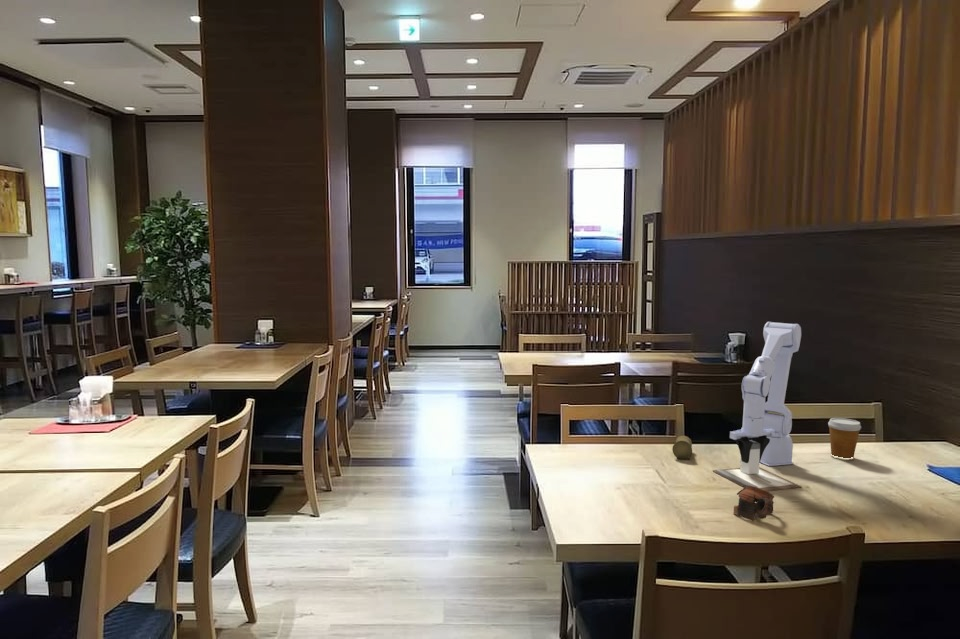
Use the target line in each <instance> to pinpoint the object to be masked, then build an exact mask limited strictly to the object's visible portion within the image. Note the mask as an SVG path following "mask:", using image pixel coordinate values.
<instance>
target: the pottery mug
mask: <svg viewBox="0 0 960 639" xmlns="http://www.w3.org/2000/svg"><path fill="white" fill-rule="evenodd" d="M736 495H737V496H738V497H739V498H738V502H737V503H738V505H734V506H733V515H735V516H740V517H741V518H743V519H746V520H749V521H752V522H754V521H755V517H756V516H757V517H758V518H759V519H762V520H764V519H766V518H767V516H768V515H770V514H773V512H774V503H775V502H774V498H775V496H774V494H772V493H770V491H765V490H763V489H760V488H757V487H753V486H749V485H744V486H743V487H742V489H740V490H738V492H737V493H736Z"/></svg>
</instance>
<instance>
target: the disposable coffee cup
mask: <svg viewBox="0 0 960 639" xmlns="http://www.w3.org/2000/svg"><path fill="white" fill-rule="evenodd" d="M827 425H828V428H829V441H830V444H829V445H830V455H831V454H832V455H834V456H838V457H843V458H851V457H853V458H854V457H855V454H856V447H857V443H858V439H859V434H860V431H861V429H862V426H861V422H860V421H858V420H856V419H850V418H844V417H832V418H830V419H829V421H828V422H827Z"/></svg>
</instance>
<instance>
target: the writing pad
mask: <svg viewBox="0 0 960 639" xmlns="http://www.w3.org/2000/svg"><path fill="white" fill-rule="evenodd" d="M712 472H713V473H715V474H717V475H719V476H721V477H723V479H726V480H728V481H730V482H732V483H734V484H737V485H739V486H741V488H743V486H744V485H749V486H753V487H757V488H760V489H763V490H765V491H767V492H770V491H771V492H772V491H781V490H783V491H784V490H792V489H794V490H795V489H801V488H802V486H801V485H799V484H797V483H795V482H793V481H791V480H788V479H786V478H784V477H782V476H780V475H777V474H775V473H774V472H771V471H768V470H767V469H764V468H762V467H760V466H759V473H758V474H747V473H744V472H742V471H740V467H736V468H725V469H713V470H712Z"/></svg>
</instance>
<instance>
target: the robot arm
mask: <svg viewBox="0 0 960 639" xmlns="http://www.w3.org/2000/svg"><path fill="white" fill-rule="evenodd" d="M762 335H763V339H764V347H763V349H762V353H761V356H757V358H756V359H755V360H754V363H753V364H752V367H751V369H750V371H749V373H748V374H747V375H745V376H744V377H743V378H742V382H741V388H740V389H741V393H742V395H741V396H742V400H743V412H742V427H741V429H737V430H733V431H729V439H731V440H733V441H735V443H736V445H737V447H738V450H739V453H740V460H741V459H742V461H743V462H745V463H748V462H749V456H750V450H751V446H752V444H753V442H752V441H749V440H750V439H751V440H753V441H755V442H758V443H761V444H760V458H759V463H760V464H761V463H762V464H763V465H765V466H769V467H773V466H774V467H776V466H785V465H786V466H787V465H794V462H793V451H794V450H793V448H794V443H793V440H792V437H791V436H790V435H789V434H790V433H791V431H792V426H793V420H792V419H793V412H792V411H791V410H790V408H788V407H787V405H785V399H786V395H787V394H786V393H787V392H786V391H787V387H788V380H789V374H790V367H791V363H792V358H793V353H796V352H799V348H800V344H801V340H802V339H801V338H802V327H801V325H800V324H798V323H786V322H785V323H784V322H773V321H766V323H765V324H764V326H763V332H762ZM766 397H767V401H766Z"/></svg>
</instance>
